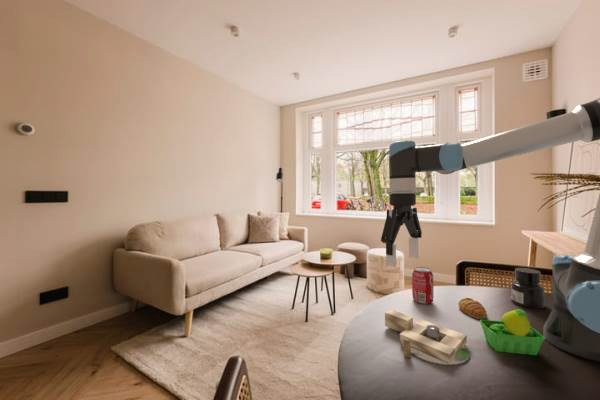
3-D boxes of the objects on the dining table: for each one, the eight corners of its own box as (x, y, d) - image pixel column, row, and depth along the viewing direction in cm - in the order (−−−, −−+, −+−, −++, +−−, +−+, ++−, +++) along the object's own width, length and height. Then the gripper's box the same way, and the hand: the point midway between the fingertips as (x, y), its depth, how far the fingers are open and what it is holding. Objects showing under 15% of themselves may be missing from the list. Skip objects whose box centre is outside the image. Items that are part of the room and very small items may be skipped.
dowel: (411, 356, 64) (411, 340, 64) (408, 358, 63) (408, 342, 63) (405, 353, 65) (405, 337, 65) (402, 355, 64) (402, 339, 64)
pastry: (494, 321, 81) (493, 308, 81) (471, 320, 82) (471, 308, 82) (476, 307, 90) (475, 296, 90) (455, 307, 91) (455, 296, 91)
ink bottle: (509, 297, 99) (509, 265, 98) (541, 301, 94) (541, 268, 94) (513, 306, 91) (513, 272, 90) (547, 312, 86) (547, 276, 85)
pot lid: (478, 346, 68) (478, 328, 67) (455, 375, 57) (455, 354, 57) (416, 323, 80) (416, 309, 80) (388, 344, 69) (388, 327, 69)
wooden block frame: (466, 342, 68) (466, 327, 68) (449, 363, 60) (449, 345, 60) (397, 317, 82) (397, 304, 82) (376, 331, 74) (376, 317, 74)
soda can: (429, 297, 99) (428, 266, 99) (436, 305, 92) (436, 272, 92) (409, 297, 100) (409, 266, 100) (416, 305, 93) (415, 271, 93)
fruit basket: (526, 341, 70) (526, 299, 69) (550, 362, 61) (551, 314, 61) (478, 337, 72) (478, 296, 72) (495, 357, 63) (495, 311, 63)
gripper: (410, 192, 91) (410, 253, 91) (367, 193, 75) (368, 267, 75) (432, 192, 85) (433, 256, 86) (391, 192, 69) (392, 272, 70)
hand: (402, 261), depth 80 cm, fingers open, 13 cm apart
